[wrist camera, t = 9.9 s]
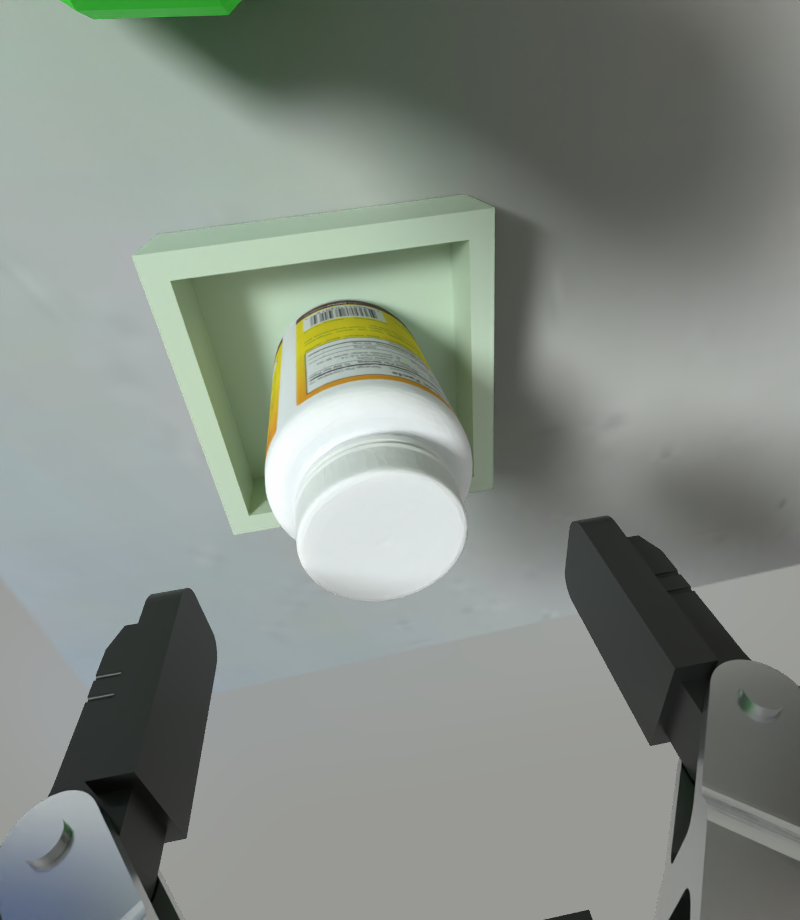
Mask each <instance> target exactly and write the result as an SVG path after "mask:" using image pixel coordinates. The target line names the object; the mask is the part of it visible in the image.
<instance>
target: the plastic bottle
mask: <svg viewBox="0 0 800 920" xmlns="http://www.w3.org/2000/svg"><path fill="white" fill-rule="evenodd" d="M61 1H63V2H64V3H66V4H67V5H69V6H70V7H71V8H73V9H74V10H76V11H78V12H80V13H82V14H84V15H86V16H88V17H90V18H93V19H116V18H149V17H182V16H215V15H229V14H230V13H231V12H232V11H233V10H234V9H235V7H236V6H237V5H238V4H239V3H240V2H241V1H242V0H61Z"/></svg>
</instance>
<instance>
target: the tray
mask: <svg viewBox="0 0 800 920" xmlns="http://www.w3.org/2000/svg"><path fill="white" fill-rule="evenodd" d="M132 259H133V261H134V264H135V267H136V270H137V272H138V275H139V278H140V280H141V283H142V286H143V289H144V291H145V294H146V297H147V300H148V302H149V305H150V308H151V310H152V313H153V316H154V319H155V321H156V324H157V327H158V330H159V332H160V335H161V338H162V340H163V343H164V346H165V349H166V351H167V354H168V357H169V360H170V362H171V365H172V368H173V370H174V373H175V376H176V379H177V381H178V384H179V387H180V389H181V392H182V395H183V398H184V400H185V403H186V406H187V409H188V411H189V414H190V417H191V419H192V422H193V425H194V428H195V430H196V433H197V436H198V439H199V441H200V444H201V447H202V449H203V452H204V455H205V458H206V460H207V463H208V466H209V468H210V471H211V474H212V477H213V479H214V482H215V485H216V488H217V490H218V493H219V496H220V498H221V501H222V504H223V507H224V509H225V512H226V515H227V518H228V520H229V523H230V526H231V528H232V531H233V534H234V535H237V534H242V533H248V532H253V531H259V530H265V529H270V528H276V527H282V526H281V525H280V523H279V522H278V521H277V519H276V518H275V516H274V514H273V512H272V509H271V507H270V505H269V502H268V498H267V494H266V487H265V460H266V448H267V437H268V426H269V415H270V404H271V393H272V382H273V367H274V360H275V355H276V351H277V348H278V345H279V343H280V340H281V338H282V336H283V335H284V333H285V332H286V330H287V329H288V327H289V326H290V325H291V324H292V323H293V322H294V321H295V320H296V319H297V318H298V317H299V316H300V315H302V314H303V313H305V312H306V311H308V310H309V309H311V308H313V307H315V306H317V305H319V304H322V303H325V302H328V301H333V300H338V299H357V300H363V301H367V302H371V303H374V304H376V305H379V306H381V307H383V308H385V309H386V310H388V311H390V312H391V313H392V314H394V315H395V316H396V317H397V318H399V319H400V320H401V321H402V322H403V323H404V325H405V326H406V327H407V328H408V330H409V331H410V332H411V334H412V335H413V337H414V339H415V341H416V343H417V345H418V347H419V348H420V350H421V352H422V354H423V356H424V358H425V359H426V361H427V363H428V365H429V367H430V369H431V370H432V372H433V374H434V376H435V378H436V380H437V382H438V383H439V385H440V387H441V389H442V391H443V393H444V394H445V396H446V398H447V400H448V402H449V403H450V405H451V407H452V409H453V411H454V412H455V414H456V416H457V417H458V419H459V421H460V423H461V425H462V427H463V429H464V432H465V434H466V436H467V438H468V441H469V444H470V448H471V453H472V462H473V465H472V479H471V484H470V488H469V492H468V493H473V492H479V491H485V490H490V489H493V434H494V268H495V208H494V207H492V206H490V205H488V204H486V203H484V202H482V201H479V200H477V199H475V198H473V197H471V196H469V195H466V194H463V195H456V196H448V197H440V198H433V199H425V200H417V201H410V202H402V203H394V204H387V205H379V206H371V207H364V208H356V209H348V210H341V211H333V212H325V213H318V214H310V215H302V216H295V217H287V218H279V219H272V220H264V221H256V222H249V223H241V224H233V225H226V226H218V227H210V228H203V229H195V230H187V231H180V232H172V233H164V234H158V235H156V236H155V237H154V238H153V239H151V240H150V241H149V242H148V243H147V244H145V245H144V246H143V247H142V248H141V249H139V250H138V251H137V252H136V253H135V254H133V255H132Z"/></svg>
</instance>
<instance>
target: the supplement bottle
mask: <svg viewBox="0 0 800 920" xmlns="http://www.w3.org/2000/svg"><path fill="white" fill-rule="evenodd" d="M472 465H473V462H472V453H471V448H470V444H469V441H468V438H467V436H466V434H465V432H464V429H463V427H462V425H461V423H460V421H459V419H458V417H457V416H456V414H455V412H454V411H453V409H452V407H451V405H450V403H449V402H448V400H447V398H446V396H445V394H444V393H443V391H442V389H441V387H440V385H439V383H438V382H437V380H436V378H435V376H434V374H433V372H432V370H431V369H430V367H429V365H428V363H427V361H426V359H425V358H424V356H423V354H422V352H421V350H420V348H419V347H418V345H417V343H416V341H415V339H414V337H413V335H412V334H411V332H410V331H409V330H408V328H407V327H406V326H405V325H404V323H403V322H402V321H401V320H400V319H399V318H397V317H396V316H395V315H394V314H392V313H391V312H390V311H388V310H386V309H385V308H383V307H381V306H379V305H376V304H374V303H371V302H367V301H363V300H357V299H338V300H333V301H328V302H325V303H322V304H319V305H317V306H315V307H313V308H311V309H309V310H308V311H306V312H305V313H303V314H302V315H300V316H299V317H298V318H297V319H296V320H295V321H294V322H293V323H292V324H291V325H290V326H289V327H288V329H287V330H286V332H285V333H284V335H283V336H282V338H281V340H280V343H279V345H278V348H277V351H276V355H275V360H274V367H273V382H272V393H271V404H270V415H269V426H268V437H267V448H266V460H265V487H266V494H267V498H268V502H269V505H270V507H271V509H272V512H273V514H274V516H275V518H276V519H277V521H278V522H279V523H280V525H281V526H282V527H283V528H284V530H285V531H286V532H287V533H288V534H289V535H290V536H291V537H293V538H294V539H295V540H296V543H297V552H298V555H299V558H300V561H301V564H302V566H303V567H304V569H305V570H306V572H307V574H308V575H309V576H310V577H311V578H312V579H313V580H314V581H315V582H316V583H317V584H318V585H319V586H321V587H323V588H324V589H326V590H328V591H329V592H331V593H333V594H336V595H338V596H341V597H345V598H348V599H353V600H358V601H386V600H392V599H397V598H402V597H405V596H407V595H410V594H413V593H416V592H418V591H420V590H423V589H425V588H426V587H428V586H430V585H431V584H433V583H434V582H436V581H437V580H439V579H440V578H441V577H443V576H444V575H445V574H446V573H447V572H448V571H449V570H450V569H451V568H452V566H453V565H454V564H455V562H456V561H457V560H458V558H459V557H460V555H461V553H462V551H463V548H464V546H465V543H466V539H467V533H468V522H467V515H466V511H465V508H464V505H463V504H464V502H465V499H466V497H467V495H468V492H469V488H470V484H471V479H472Z"/></svg>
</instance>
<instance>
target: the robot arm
mask: <svg viewBox="0 0 800 920" xmlns="http://www.w3.org/2000/svg"><path fill="white" fill-rule="evenodd" d="M565 579H566V585H567V589H568V592H569V595H570V598H571V600H572V602H573V604H574V605H575V607H576V609H577V611H578V613H579V615H580V617H581V618H582V620H583V622H584V624H585V626H586V628H587V630H588V631H589V633H590V635H591V637H592V639H593V640H594V643H595V644H596V646H597V648H598V650H599V652H600V654H601V656H602V657H603V659H604V661H605V663H606V665H607V667H608V669H609V670H610V672H611V674H612V676H613V678H614V680H615V681H616V683H617V685H618V687H619V689H620V691H621V693H622V694H623V696H624V698H625V700H626V702H627V704H628V705H629V707H630V709H631V711H632V713H633V715H634V716H635V718H636V720H637V722H638V724H639V726H640V728H641V730H642V732H643V733H644V735H645V737H646V739H647V741H648V743H649V745H650V746H652V745H657V744H662V743H667V742H671V743H672V745H673V747H674V749H675V750H676V752H677V753H678V756H679V757H680V758H679V761H678V766H677V774H676V782H675V790H674V798H673V806H672V814H671V822H670V830H669V839H668V847H667V855H666V863H665V870H664V875H663V880H662V884H661V888H660V892H659V896H658V901H657V906H656V911H655V917H654V920H800V686H798V685H797V684H796V683H795V682H794V681H792V680H791V679H790V678H789V677H787V676H786V675H784V674H783V673H781V672H780V671H778V670H776V669H774V668H772V667H770V666H768V665H765V664H762V663H759V662H755V661H752V660H751V659H749V658H748V656H747V655H746V654H745V653H744V652H743V651H742V650H741V648H740V647H739V646H738V645H737V643H736V642H735V641H734V640H733V638H732V637H731V636H730V635H729V633H728V632H727V631H726V630H725V629H724V627H723V626H722V625H721V624H720V623H719V621H718V620H717V619H716V617H715V616H714V615H713V614H712V612H711V611H710V610H709V609H708V608H707V606H706V605H705V604H704V603H703V602H702V600H701V599H700V598H699V596H698V595H697V594H696V593H695V591H692V590H691V586H690V585H689V584H688V583H687V582H686V580H685V579H684V578H683V577H682V575H681V574H678V572H677V569H676V568H675V567H674V565H673V564H672V563H671V562H670V560H669V559H668V558H667V557H666V556H665V554H664V553H663V552H662V551H661V550H660V549H658V548H657V547H655V546H654V545H652V544H651V543H649V542H648V541H646V540H645V539H643V538H642V537H640V536H639V535H638V536H632V537H626V536H625V534H624V533H623V532H622V530H621V529H620V528H619V526H618V525H617V524H616V522H615V521H614V520H613V519H612V518H611V517H609V516H602V517H596V518H591V519H585V520H579V521H574V522H572V523H571V525H570V530H569V539H568V548H567V558H566V567H565ZM216 664H217V648H216V641H215V637H214V634H213V632H212V630H211V628H210V626H209V623H208V621H207V619H206V617H205V615H204V613H203V611H202V609H201V607H200V604H199V602H198V600H197V598H196V596H195V594H194V592H193V591H192V590H191V589H190V588H185V589H179V590H174V591H168V592H162V593H156V594H151V595H150V596H149V597H148V598H147V600H146V602H145V605H144V608H143V611H142V614H141V617H140V619H139V622H138V624H132V625H127V626H124V628H123V629H122V630H121V631H120V633H119V634H118V635H117V636H116V638H115V639H114V640H113V641H112V643H111V644H110V645H109V646H108V648H107V649H106V650H105V653H104V656H103V658H102V661H101V663H100V666H99V669H98V671H97V674H96V681H94V682H93V684H92V687H91V689H90V692H89V695H88V702H87V703H85V705H84V708H83V710H82V713H81V715H80V718H79V721H78V723H77V726H76V728H75V731H74V734H73V736H72V739H71V741H70V744H69V746H68V749H67V752H66V754H65V757H64V759H63V762H62V765H61V768H60V770H59V772H58V775H57V778H56V780H55V783H54V786H53V787H52V790H51V792H50V794H49V796H48V797H47V798H46V799H45V800H43V801H41V802H40V803H38V804H37V805H36V806H34V807H33V808H32V809H30V810H29V811H28V812H27V813H26V814H25V815H24V816H23V817H22V818H21V819H20V820H19V821H18V822H17V823H16V824H15V825H14V827H13V828H12V829H11V830H10V832H9V833H8V835H7V836H6V838H5V839H4V841H3V843H2V845H1V846H0V920H185V918H184V916H183V914H182V913H181V910H180V908H179V906H178V905H177V903H176V901H175V899H174V897H173V895H172V893H171V891H170V889H169V887H168V885H167V883H166V881H165V879H164V877H163V875H162V874H161V872H160V870H159V865H160V860H161V855H162V850H163V845H164V843H167V842H172V841H176V840H181V839H186V838H187V832H188V826H189V821H190V815H191V809H192V803H193V798H194V792H195V786H196V779H197V774H198V768H199V762H200V757H201V751H202V745H203V739H204V734H205V727H206V722H207V717H208V711H209V705H210V699H211V693H212V688H213V682H214V676H215V670H216ZM545 920H592V917H591V914H590V911H589V910H586V911H581V912H577V913H572V914H568V915H563V916H559V917H554V918H550V919H545Z"/></svg>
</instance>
